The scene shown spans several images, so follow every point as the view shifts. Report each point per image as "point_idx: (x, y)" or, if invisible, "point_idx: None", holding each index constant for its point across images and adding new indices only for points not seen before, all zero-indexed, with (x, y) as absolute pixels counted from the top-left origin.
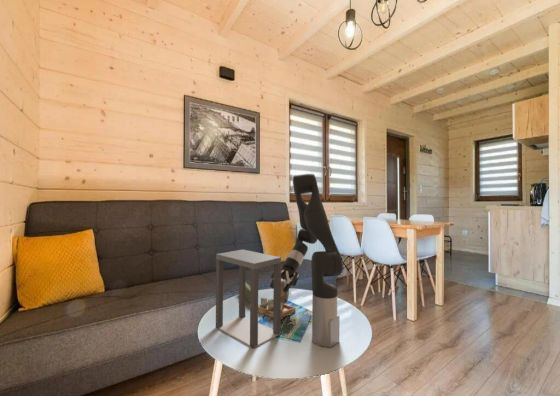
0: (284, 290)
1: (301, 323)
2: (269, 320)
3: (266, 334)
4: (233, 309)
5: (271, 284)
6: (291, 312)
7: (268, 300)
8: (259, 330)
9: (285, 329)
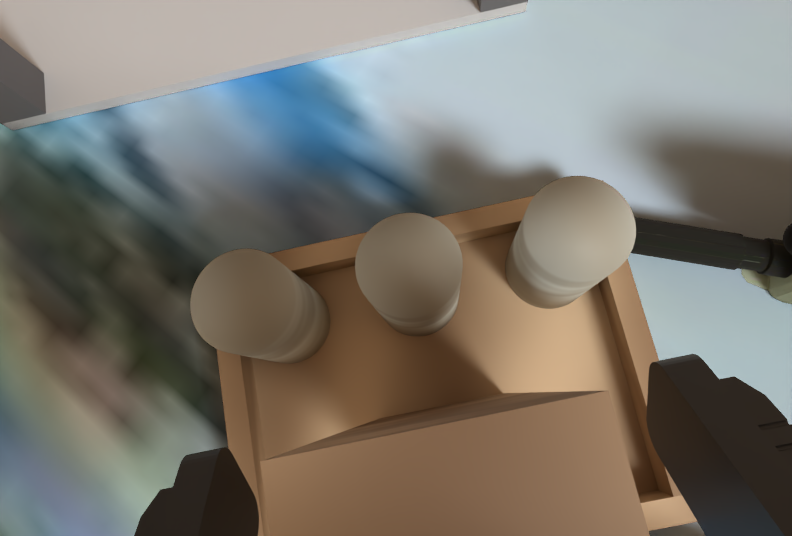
0: (188, 464)
1: (19, 432)
2: (287, 192)
3: (64, 17)
4: (759, 6)
5: (694, 390)
6: None
7: (438, 230)
8: (155, 1)
9: (44, 217)
